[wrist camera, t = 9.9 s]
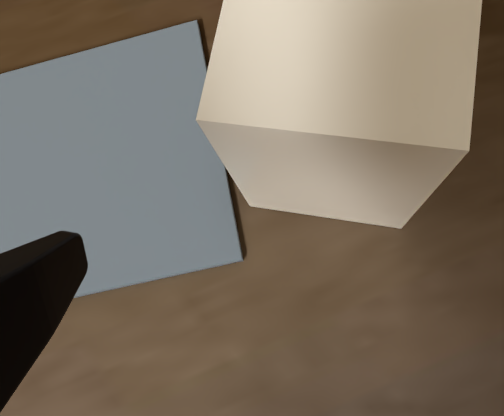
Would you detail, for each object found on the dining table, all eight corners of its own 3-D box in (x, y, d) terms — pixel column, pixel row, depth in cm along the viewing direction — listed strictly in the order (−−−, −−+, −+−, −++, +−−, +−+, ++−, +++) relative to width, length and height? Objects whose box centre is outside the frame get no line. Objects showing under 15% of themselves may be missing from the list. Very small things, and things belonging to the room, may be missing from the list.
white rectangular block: (400, 228, 21) (469, 150, 11) (249, 206, 22) (195, 119, 13) (417, 88, 22) (489, -85, 13) (275, 75, 24) (244, -89, 14)
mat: (243, 260, 22) (242, 259, 21) (-16, 317, 23) (-22, 317, 23) (198, 24, 25) (196, 19, 25) (-22, 85, 27) (-27, 81, 26)
